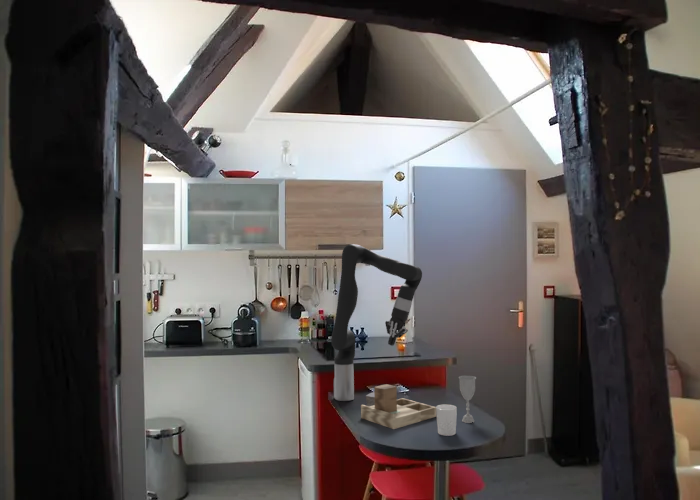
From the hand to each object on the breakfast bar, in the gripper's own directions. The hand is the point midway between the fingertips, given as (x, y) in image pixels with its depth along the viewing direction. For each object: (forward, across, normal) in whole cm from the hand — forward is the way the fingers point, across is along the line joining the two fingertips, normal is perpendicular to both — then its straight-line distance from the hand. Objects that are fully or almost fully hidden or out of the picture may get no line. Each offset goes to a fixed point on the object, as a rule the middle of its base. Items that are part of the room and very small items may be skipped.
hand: (390, 345), depth 239 cm
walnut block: (+24, +16, -9) cm, 30 cm away
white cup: (+21, +44, -3) cm, 48 cm away
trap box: (+26, +17, -1) cm, 32 cm away
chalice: (+18, +40, +15) cm, 46 cm away
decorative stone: (+30, +1, +2) cm, 30 cm away
